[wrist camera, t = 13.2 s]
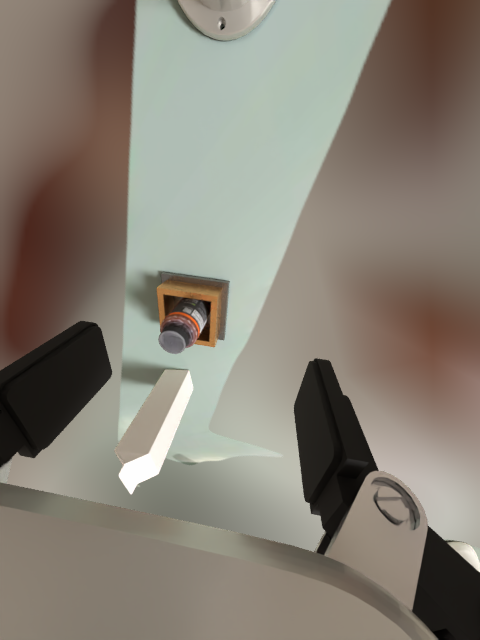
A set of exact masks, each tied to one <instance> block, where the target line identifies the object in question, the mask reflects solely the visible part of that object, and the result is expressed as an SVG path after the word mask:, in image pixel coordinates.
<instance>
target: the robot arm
mask: <svg viewBox="0 0 480 640" xmlns="http://www.w3.org/2000/svg"><path fill="white" fill-rule="evenodd" d="M275 1H276V0H178V3H179V4H180V6H181V8H182V10H183V11H184V13H185V15H186V16H187V18H188V19H189V20H190V21H191V22H192V24H193V25H194V26H195V27H196V28H197V29H198V30H200V31H201V32H202V33H203V34H205V35H207V36H209V37H211V38H213V39H217V40H224V41H227V40H234V39H238V38H240V37H242V36H245V35H247V34H248V33H249V32H251V31H252V30H253V29H255V28H256V27H257V26H258V25H259V24H260V23H261V22H262V20H263V19H264V18H265V17H266V16H267V14H268V13H269V11H270V9H271V8H272V6H273V5H274V3H275ZM223 26H224V27H225V28H224V29H223V30H221V28H222V27H223ZM111 375H112V369H111V365H110V362H109V358H108V354H107V350H106V346H105V342H104V339H103V335H102V331H101V329H100V327H98V325H97V324H96V323H92V322H85V321H80V322H78V323H76V324H75V325H73V326H71V327H70V328H68V329H67V330H65V331H63V332H62V333H60V334H59V335H57V336H55V337H54V338H52V339H50V340H49V341H47V342H46V343H44V344H42V345H41V346H39V347H38V348H36V349H34V350H33V351H31V352H30V353H28V354H26V355H25V356H23V357H22V358H20V359H19V360H17V361H15V362H14V363H12V364H11V365H9V366H7V367H5V368H4V369H2V370H1V371H0V640H480V572H479V571H477V570H476V569H475V568H474V567H473V566H472V565H471V564H470V563H469V562H468V561H466V560H465V559H464V558H463V557H462V556H461V555H460V554H459V553H458V552H457V551H455V550H454V549H453V548H452V547H451V546H450V545H449V544H448V543H447V542H446V541H444V540H443V539H442V538H441V537H440V536H439V535H438V534H437V533H436V532H435V531H433V530H432V529H431V528H430V527H429V526H428V524H427V517H426V514H425V511H424V509H423V507H422V505H421V503H420V502H419V500H418V498H417V497H416V496H415V494H414V493H413V492H412V491H411V490H410V488H408V487H407V486H406V485H405V484H404V483H403V482H402V481H401V480H399V479H398V478H396V477H394V476H393V475H391V474H388V473H386V472H384V471H379V470H378V468H377V466H376V463H375V461H374V458H373V456H372V453H371V451H370V449H369V446H368V443H367V441H366V438H365V436H364V434H363V431H362V429H361V426H360V424H359V421H358V419H357V416H356V414H355V411H354V409H353V407H352V404H351V402H350V400H349V398H348V397H347V396H345V395H343V393H342V391H341V388H340V386H339V383H338V380H337V378H336V375H335V373H334V370H333V367H332V365H331V362H330V361H329V360H322V359H314V361H310V362H309V364H308V366H307V369H306V372H305V375H304V378H303V381H302V384H301V387H300V390H299V392H298V395H297V398H296V401H295V405H294V414H295V423H296V432H297V440H298V448H299V457H300V466H301V474H302V483H303V492H304V498H305V501H306V502H308V503H310V509H311V514H315V515H320V516H321V521H322V526H323V529H324V530H325V532H324V534H323V536H322V538H321V539H320V541H319V543H318V545H317V547H316V549H315V551H314V552H312V551H309V550H305V549H302V548H299V547H295V546H292V545H288V544H284V543H279V542H275V541H271V540H267V539H263V538H258V537H254V536H250V535H246V534H242V533H237V532H233V531H228V530H223V529H219V528H214V527H210V526H205V525H201V524H196V523H191V522H187V521H182V520H177V519H173V518H168V517H163V516H158V515H154V514H149V513H144V512H140V511H135V510H130V509H126V508H121V507H116V506H111V505H106V504H102V503H96V502H92V501H87V500H82V499H78V498H73V497H68V496H63V495H58V494H54V493H49V492H44V491H39V490H34V489H29V488H24V487H19V486H14V485H10V484H6V483H7V479H8V474H9V469H10V465H11V461H12V457H13V456H14V455H15V454H16V452H18V453H19V454H20V455H21V456H26V457H31V458H35V457H36V456H37V455H38V453H39V452H40V451H41V450H42V449H45V448H46V447H48V446H49V445H50V444H51V443H52V442H53V440H54V439H55V438H56V437H57V436H58V435H59V434H60V433H61V432H62V431H63V430H64V428H65V427H66V426H67V425H68V424H69V423H70V422H71V421H72V420H73V419H74V417H75V416H76V415H77V414H78V413H79V412H80V411H81V410H82V409H83V408H84V407H85V405H86V404H87V403H88V402H89V401H90V400H91V399H92V398H93V397H94V395H95V394H96V393H97V392H98V391H99V390H100V389H101V388H102V387H103V386H104V385H105V383H106V382H107V381H108V380H109V379H110V377H111Z"/></svg>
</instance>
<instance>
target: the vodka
mask: <svg viewBox="0 0 480 640" xmlns="http://www.w3.org/2000/svg"><path fill="white" fill-rule="evenodd" d="M447 543H448V544H449V545H450V546H451V547H452V548H453V549H454V550H455V551H457V552H458V553H459V554H460V555H461V556H462V557H463V558H464V559H465V560H466V561H468V562H469V563H470V564H471V565H472V566H473V567H474V568H475V569H476V570H477V571H479V572H480V562H479V560H478V557H477V554H476V552H475V551H474V549H473V548H472V547H471V546H470V545H469V544H467V543H464V542H459V541H451V542H447Z"/></svg>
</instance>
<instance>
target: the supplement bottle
mask: <svg viewBox="0 0 480 640" xmlns="http://www.w3.org/2000/svg"><path fill="white" fill-rule="evenodd" d="M209 315H210V307H209V305H208V303H207V302H206V301H205V300H198V299H191V298H185V297H184V298H182V299H181V300H180V301H179V303H178V304H177V305H176V306H175V307H174V308H173V309H172V310H171V312H170V313H169V314H168V315H167V316H166V317H165V318H164V320H163V321H162V323H161V327H160V332H161V334H160V335H159V339H158V340H159V344H160V346H161V347H162V348H163V349H164V350H165V351H167V352H169V353H172V354H178V353H181V352H182V351H183V350H184V349H185V348H188V347H190V346H192V345H193V344H194V343H195V342H196V341H197V339H198V337H199V335H200V333H201V331H202V329H203V327H204V325H205V323H206V322H207V320H208V317H209Z"/></svg>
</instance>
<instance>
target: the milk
mask: <svg viewBox="0 0 480 640" xmlns="http://www.w3.org/2000/svg"><path fill="white" fill-rule="evenodd" d="M192 391H193V384H192V380H191V376H190V372H189V370H169V369H165V370H164V372H163V374H162V375H161V377H160V378H159V380H158V381H157V383H156V385H155V386H154V388H153V389H152V391H151V393H150V394H149V396H148V397H147V399H146V401H145V402H144V404H143V405H142V407H141V408H140V410H139V412H138V413H137V415H136V416H135V418H134V420H133V421H132V423H131V424H130V426H129V428H128V429H127V431H126V432H125V434H124V436H123V437H122V439H121V440H120V442H119V443H118V445H117V447H116V448H115V450H114V451H115V453H116V455H117V457H118V458H119V460H120V462H121V463H122V465H123V467H122V469H121V471H120V472H119V477H120V479H121V481H122V482H123V483H124V485H125V487H126V488H127V490H128V491H129V493H130V494H132V493H133V491H134V489H135V487H136V485H137V484H138V483H140V482H142V481H144V480H147V479H149V478H151V477H153V476H155V475H158V473H159V471H160V469H161V466H162V464H163V461H164V459H165V457H166V454H167V452H168V449H169V447H170V445H171V442H172V440H173V437H174V435H175V432H176V430H177V428H178V425H179V423H180V420H181V418H182V415H183V413H184V410H185V408H186V406H187V403H188V401H189V398H190V396H191V393H192Z"/></svg>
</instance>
